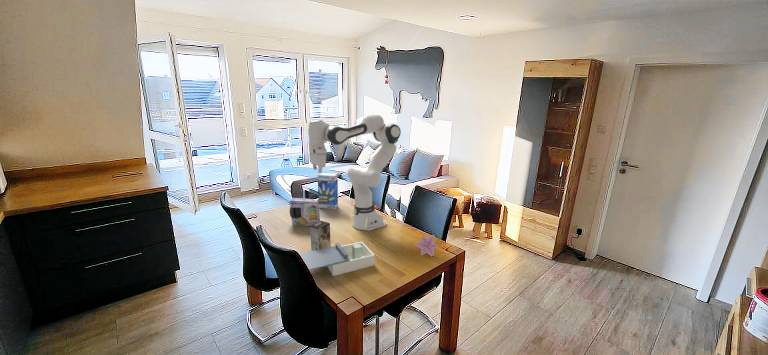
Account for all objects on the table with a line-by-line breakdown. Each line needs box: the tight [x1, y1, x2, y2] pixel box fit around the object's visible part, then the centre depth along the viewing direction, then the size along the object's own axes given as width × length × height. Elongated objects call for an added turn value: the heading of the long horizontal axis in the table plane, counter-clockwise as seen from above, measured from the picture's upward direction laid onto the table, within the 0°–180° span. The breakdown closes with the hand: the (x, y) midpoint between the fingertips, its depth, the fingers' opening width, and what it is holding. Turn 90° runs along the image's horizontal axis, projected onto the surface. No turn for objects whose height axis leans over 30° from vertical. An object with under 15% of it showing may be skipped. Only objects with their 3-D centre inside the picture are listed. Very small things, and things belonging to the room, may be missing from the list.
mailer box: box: [326, 241, 376, 277], centre depth 161 cm, size 22×16×6 cm
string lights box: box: [317, 172, 339, 210], centre depth 234 cm, size 13×8×26 cm, turn 81°
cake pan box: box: [289, 197, 321, 227], centre depth 203 cm, size 19×5×18 cm, turn 80°
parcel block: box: [352, 244, 362, 259], centre depth 163 cm, size 4×4×8 cm
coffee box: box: [309, 220, 332, 251], centre depth 171 cm, size 9×6×16 cm
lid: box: [299, 242, 350, 271], centre depth 154 cm, size 22×16×3 cm
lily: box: [414, 234, 440, 257], centre depth 173 cm, size 12×12×10 cm
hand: (317, 171), depth 186 cm, fingers open, 8 cm apart
